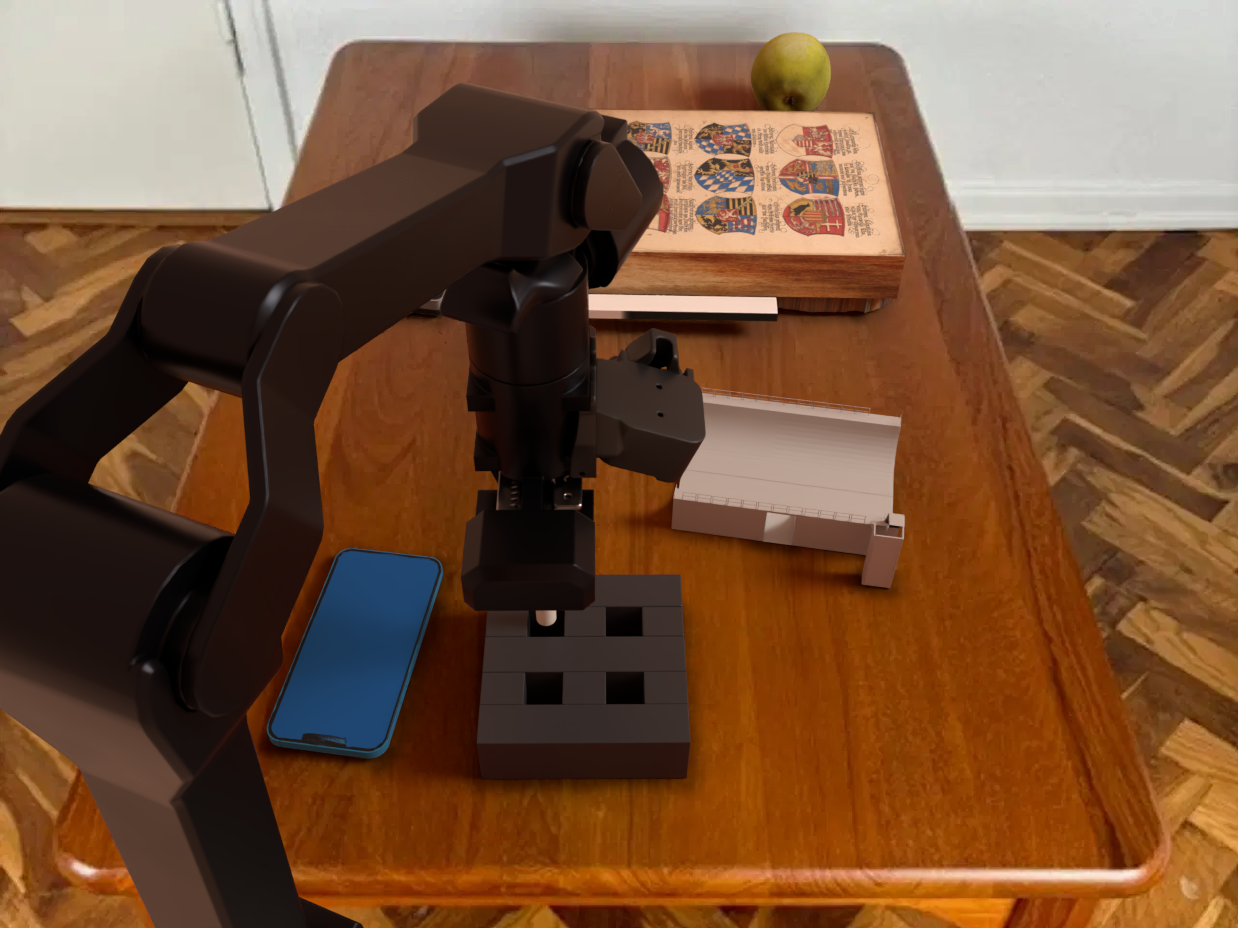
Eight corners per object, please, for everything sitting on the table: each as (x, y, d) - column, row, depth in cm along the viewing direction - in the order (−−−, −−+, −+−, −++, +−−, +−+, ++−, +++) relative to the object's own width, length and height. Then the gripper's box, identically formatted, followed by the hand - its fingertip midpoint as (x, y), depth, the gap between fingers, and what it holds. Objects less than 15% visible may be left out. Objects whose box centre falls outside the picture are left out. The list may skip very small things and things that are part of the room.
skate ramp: (893, 448, 88) (906, 397, 84) (890, 589, 79) (904, 539, 75) (691, 422, 90) (695, 372, 86) (665, 558, 81) (668, 508, 77)
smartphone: (446, 558, 79) (383, 754, 69) (447, 567, 80) (385, 763, 70) (338, 545, 80) (260, 738, 70) (341, 555, 81) (263, 747, 70)
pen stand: (687, 778, 69) (690, 742, 66) (481, 779, 69) (476, 743, 66) (678, 612, 78) (680, 573, 75) (494, 612, 77) (490, 574, 74)
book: (549, 336, 97) (897, 342, 96) (545, 272, 92) (910, 279, 91) (569, 168, 114) (864, 173, 113) (566, 108, 109) (874, 112, 108)
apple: (825, 93, 123) (835, 18, 118) (825, 139, 117) (836, 63, 111) (749, 88, 124) (756, 13, 118) (745, 134, 118) (752, 58, 112)
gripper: (712, 491, 50) (693, 695, 61) (689, 228, 63) (677, 437, 74) (445, 492, 50) (475, 697, 61) (477, 228, 63) (497, 438, 74)
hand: (542, 554), depth 68 cm, fingers closed
